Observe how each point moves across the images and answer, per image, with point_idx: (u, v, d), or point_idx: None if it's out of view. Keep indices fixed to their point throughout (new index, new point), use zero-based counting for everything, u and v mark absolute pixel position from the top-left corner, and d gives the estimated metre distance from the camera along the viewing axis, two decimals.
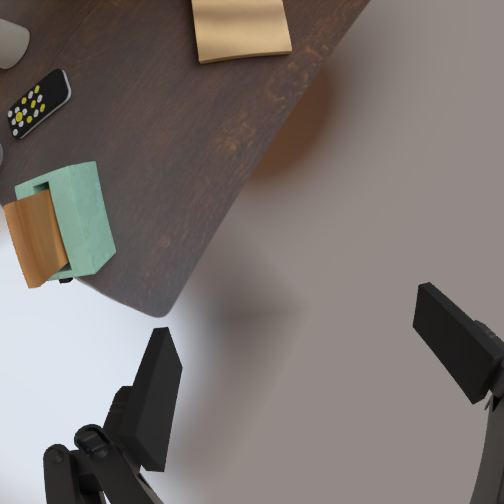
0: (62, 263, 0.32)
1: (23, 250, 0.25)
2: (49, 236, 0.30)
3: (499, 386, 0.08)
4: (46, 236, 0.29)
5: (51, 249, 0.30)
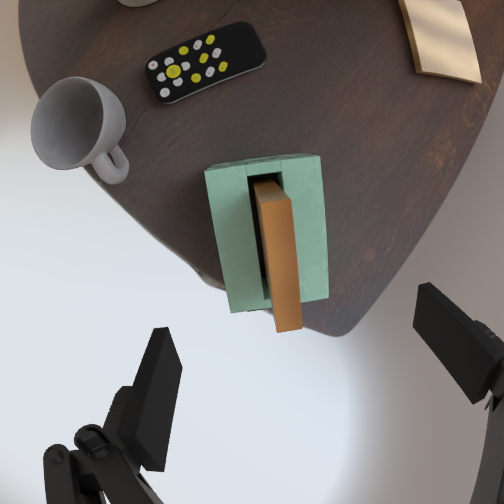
0: None
1: (291, 277, 0.20)
2: None
3: (499, 386, 0.08)
4: None
5: None
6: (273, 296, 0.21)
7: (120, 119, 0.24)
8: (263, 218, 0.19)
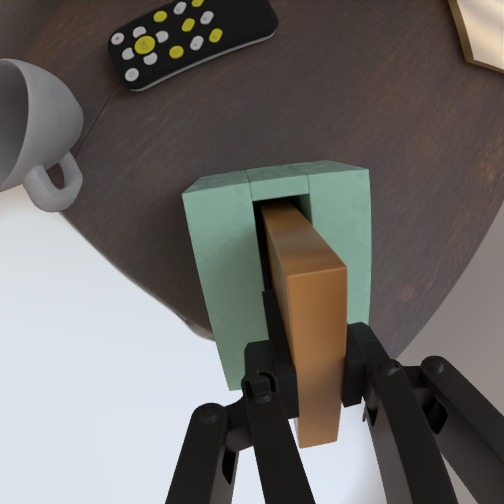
0: None
1: (332, 389, 0.11)
2: None
3: (370, 399, 0.09)
4: None
5: None
6: None
7: (63, 115, 0.15)
8: (290, 305, 0.09)
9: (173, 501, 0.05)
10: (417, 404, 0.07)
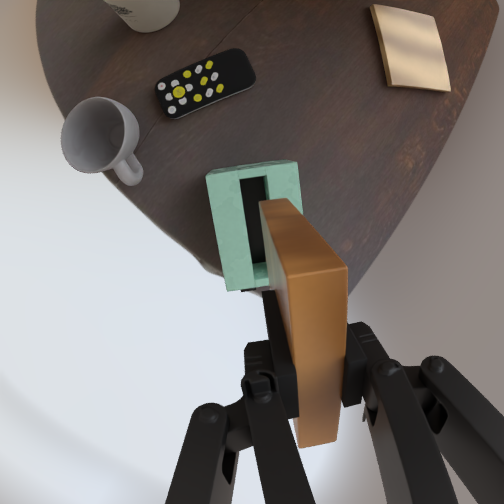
0: None
1: (331, 389, 0.11)
2: None
3: (370, 399, 0.09)
4: None
5: None
6: None
7: (136, 132, 0.31)
8: (291, 305, 0.09)
9: (173, 501, 0.05)
10: (417, 404, 0.07)
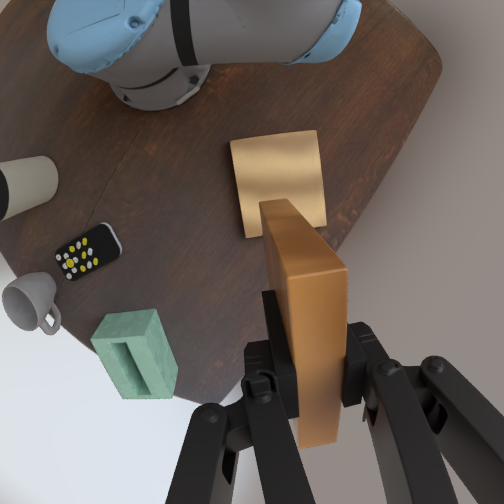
0: None
1: (331, 390, 0.11)
2: None
3: (370, 399, 0.09)
4: None
5: None
6: None
7: (47, 300, 0.40)
8: (291, 306, 0.09)
9: (173, 501, 0.05)
10: (417, 404, 0.07)
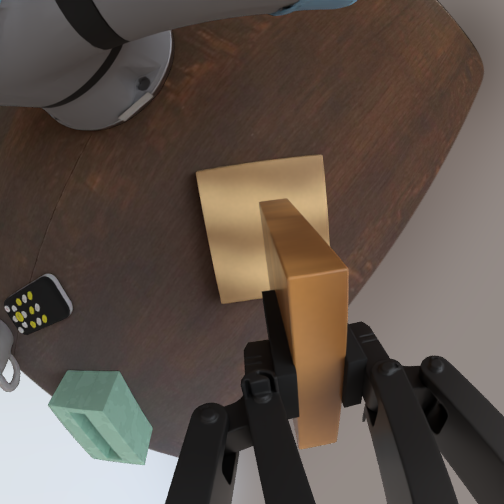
0: None
1: (332, 391, 0.11)
2: None
3: (370, 399, 0.09)
4: None
5: None
6: None
7: (1, 356, 0.29)
8: (291, 306, 0.09)
9: (173, 501, 0.05)
10: (417, 404, 0.07)
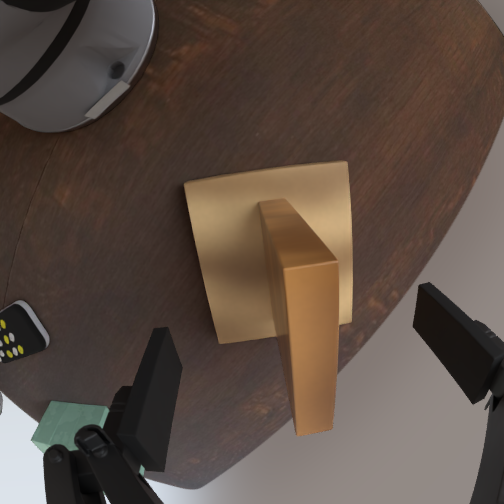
0: None
1: (326, 377, 0.12)
2: None
3: (499, 386, 0.08)
4: None
5: None
6: (295, 400, 0.12)
7: None
8: (287, 295, 0.10)
9: None
10: None
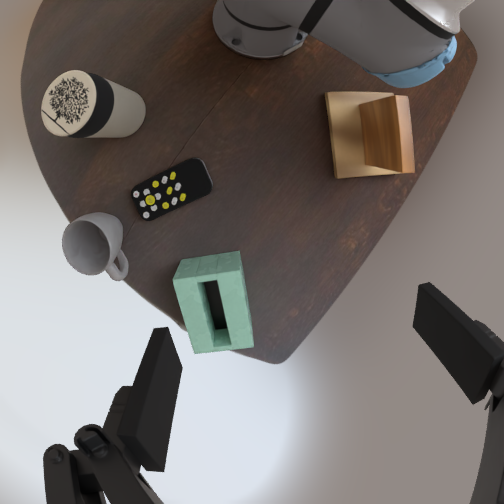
0: None
1: (409, 137, 0.31)
2: None
3: (499, 386, 0.08)
4: None
5: None
6: (401, 147, 0.31)
7: (119, 240, 0.42)
8: (396, 102, 0.29)
9: None
10: None
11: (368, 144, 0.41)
